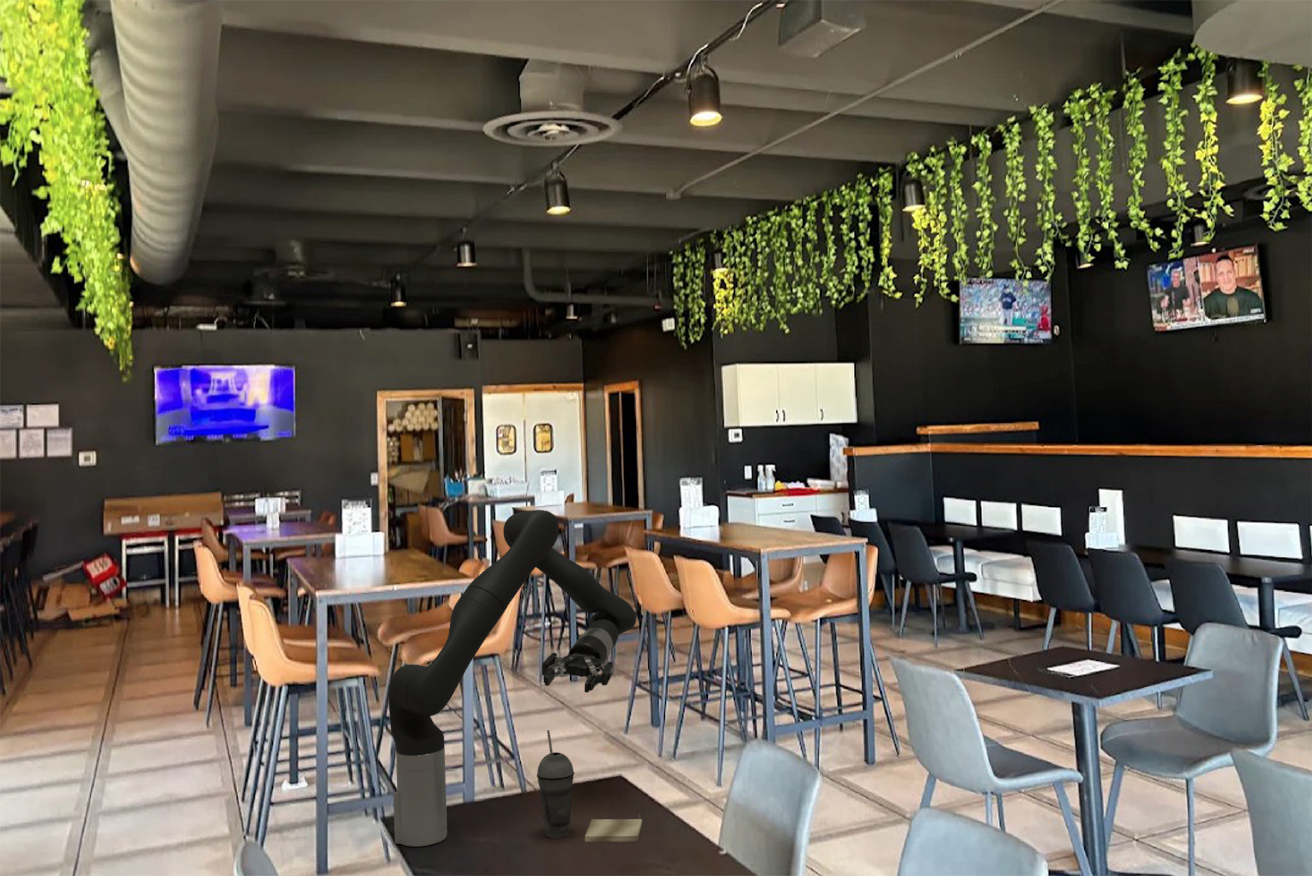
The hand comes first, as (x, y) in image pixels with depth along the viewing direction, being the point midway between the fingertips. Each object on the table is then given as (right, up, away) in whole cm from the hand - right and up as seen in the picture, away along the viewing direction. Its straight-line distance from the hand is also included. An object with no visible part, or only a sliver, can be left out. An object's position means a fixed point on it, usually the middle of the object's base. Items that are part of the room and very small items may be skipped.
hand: (566, 685), depth 206 cm
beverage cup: (-1, -27, -9) cm, 28 cm away
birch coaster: (+10, -26, -9) cm, 30 cm away
